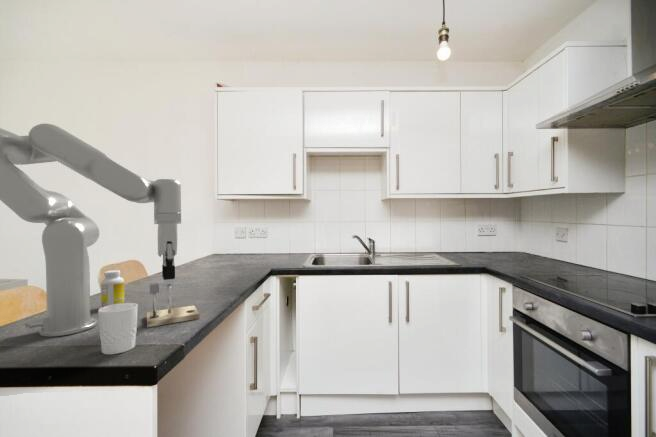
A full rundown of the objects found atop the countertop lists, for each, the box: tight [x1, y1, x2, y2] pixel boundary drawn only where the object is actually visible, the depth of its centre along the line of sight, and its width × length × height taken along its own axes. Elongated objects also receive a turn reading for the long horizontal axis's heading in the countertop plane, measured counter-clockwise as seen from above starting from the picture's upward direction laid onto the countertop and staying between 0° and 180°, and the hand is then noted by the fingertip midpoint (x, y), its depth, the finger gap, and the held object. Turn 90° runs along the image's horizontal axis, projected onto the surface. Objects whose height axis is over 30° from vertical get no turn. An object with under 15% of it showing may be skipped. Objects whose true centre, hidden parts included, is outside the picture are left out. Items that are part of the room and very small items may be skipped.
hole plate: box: [146, 305, 200, 328], centre depth 98 cm, size 14×11×2 cm
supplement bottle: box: [100, 269, 125, 308], centre depth 109 cm, size 7×7×13 cm
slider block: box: [162, 278, 176, 314], centre depth 97 cm, size 3×4×14 cm
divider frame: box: [148, 280, 197, 316], centre depth 97 cm, size 13×3×9 cm, turn 121°
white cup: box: [97, 302, 139, 355], centre depth 75 cm, size 8×8×10 cm
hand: (168, 277), depth 97 cm, fingers closed on slider block, 3 cm apart
